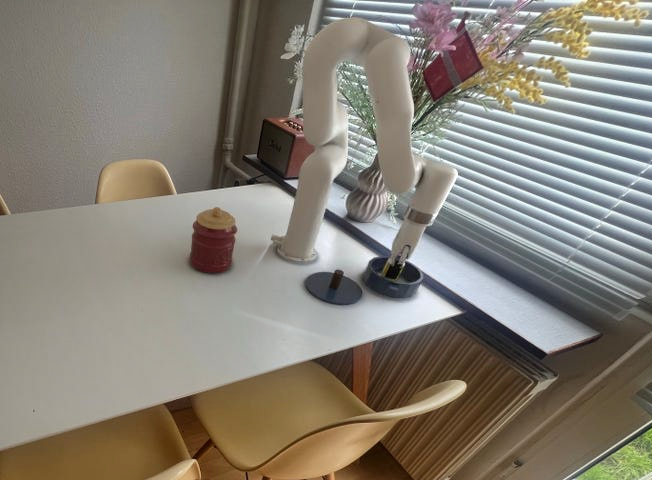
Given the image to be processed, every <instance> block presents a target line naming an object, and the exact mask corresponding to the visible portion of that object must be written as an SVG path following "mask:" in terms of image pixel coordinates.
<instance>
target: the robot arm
mask: <svg viewBox="0 0 652 480" xmlns="http://www.w3.org/2000/svg"><path fill="white" fill-rule="evenodd" d="M410 60H411V47H410V45H409V43H408V41H407V40H406V39H404V38H402V37H401V36H398V35H396V34H394V33H392V32H391V31H388V30H386V29H384V28H382V27H381V26H379V25H376V24H374V23H373V22H371V21H368V20H367V19H365V18H363V17H359V16H352V17H343V18H340V19H339V18H338V19H336V20H334V21H332V22H330V23H328V24H326V25H325V26H324V27H323V28H321V29H320V30H319V31H318V32H317V33H316V34H315V35H314V37H312V39H311V41H310V42H309V44H308V46H307V47H306V50H305V52H304V55H303V60H302V68H301V69H302V71H301V72H302V73H301V74H302V75H301V76H302V78H301V79H302V80H301V81H302V132H303V137H304V139H305V141H306V142H307V143H308V144H309V145H311V146H313V147H314V151H313V152H311V153H310V154H309V155H307V157H306V158H305V159H304V161H303V163H302V164H301V166H300V168H299V173H298V178H297V179H298V180H297V185H296V186H297V187H296V191H295V196H294V200H293V204H292V205H293V206H292V210H291V214H290V217H289V220H288V221H289V222H288V225H287V229H286V232H285V233H286V234H285V235H281V236H279V235H277V234H271V237H270V241H272V244H273V245H278V246H277V253H278V255H280V257H282V258H284V259H285V260H286V261H287V260H288V261H291V262H294V263H300V264H301V263H302V264H304V263H305V264H306V263H311V262H313V261H315V259H317V255H318V252H317V250H316V249H315V245H316V242H317V239H318V236H319V233H320V230H321V226H322V223H323V220H324V216H325V213H326V209H327V206H328V203H329V199H330V195H331V189H332V185H333V182H334V180H335V179H336V178H337V177H338V176H339V175H340V174H341V173H342V172H343V170H344V169H345V168H346V165H347V162H348V157H349V156H348V155H349V154H348V153H349V125H350V124H349V122H350V121H349V113H348V110H347V107H346V106H345V105H344V104H343V103H342V102H341V101H339V100H338V77H337V68H338V66H339V65H340V64H341V63H343V62H346V61H350V62H352V63H353V64H355V65H357V66H358V67H361V68H363V69H364V74H365V80H366V84H367V89H368V93H369V98H370V101H371V107H372V111H373V116H374V121H375V138H376V151H377V158H378V159H377V160H378V165H379V169H380V173H381V178H382V181H383V182H382V183H383V185H384V187H385V189H386V190H387V191H388V192H389V193H390V194H392V195H395V196H402V195H405V194H408V193H410V192H411V191H413V189H414V188H415V189H414V192H413V194H412V196H411V198H410V201H409V203H408V204H407V206H406V209H405V211H404V213H403V216H402V218H403V219H404V220H403V221H402V223H401V225H400V227H399V229H398V231H397V233H396V235H395V237H394V238H393V240H392V243H391V251H390V253H391V255H392V256H395V258H394V260H393V262H392V264H390V266H389V268H388V270H387V272H386V274H385V277H387V278H391V279H397V277H398V275H399V273H400V271H401V269H402V266H403V264H404V262H405V260H406V261H408V260H410V259H411V257H412V256H413V254H414V252H415V250H416V249H417V246H418V245H419V242H420V241H421V238H422V236H423V235H424V232H425V230H426V229H427V228H426V227H431V226H432V225H433V224H434V222H435V220H436V218H437V216H438V215H439V212H440V211H441V208H442V207H443V205H444V203H445V202H446V199H447V197H448V195H449V193H450V192H451V190H452V188H453V186H454V184H455V182H456V180H457V178H458V175H459V173H458V170H457V169H456V168H455V167H453V166H451V165H449V164H445V163H436V162H434V161H432V160H429V159H427V158H425V157H422V156H421V155H418V154H414V153H413V147H412V127H413V126H412V125H413V122H414V121H413V120H414V115H415V104H414V103H415V102H414V99H413V98H414V97H413V94H412V87H411V83H410V82H411V81H410V77H409V71H408V65H409V63H410ZM398 254H401V256H400V255H398ZM389 257H390V258H391V256H389ZM397 258H399V260H397ZM396 260H397V261H396ZM398 278H399V277H398ZM397 280H398V279H397Z"/></svg>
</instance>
